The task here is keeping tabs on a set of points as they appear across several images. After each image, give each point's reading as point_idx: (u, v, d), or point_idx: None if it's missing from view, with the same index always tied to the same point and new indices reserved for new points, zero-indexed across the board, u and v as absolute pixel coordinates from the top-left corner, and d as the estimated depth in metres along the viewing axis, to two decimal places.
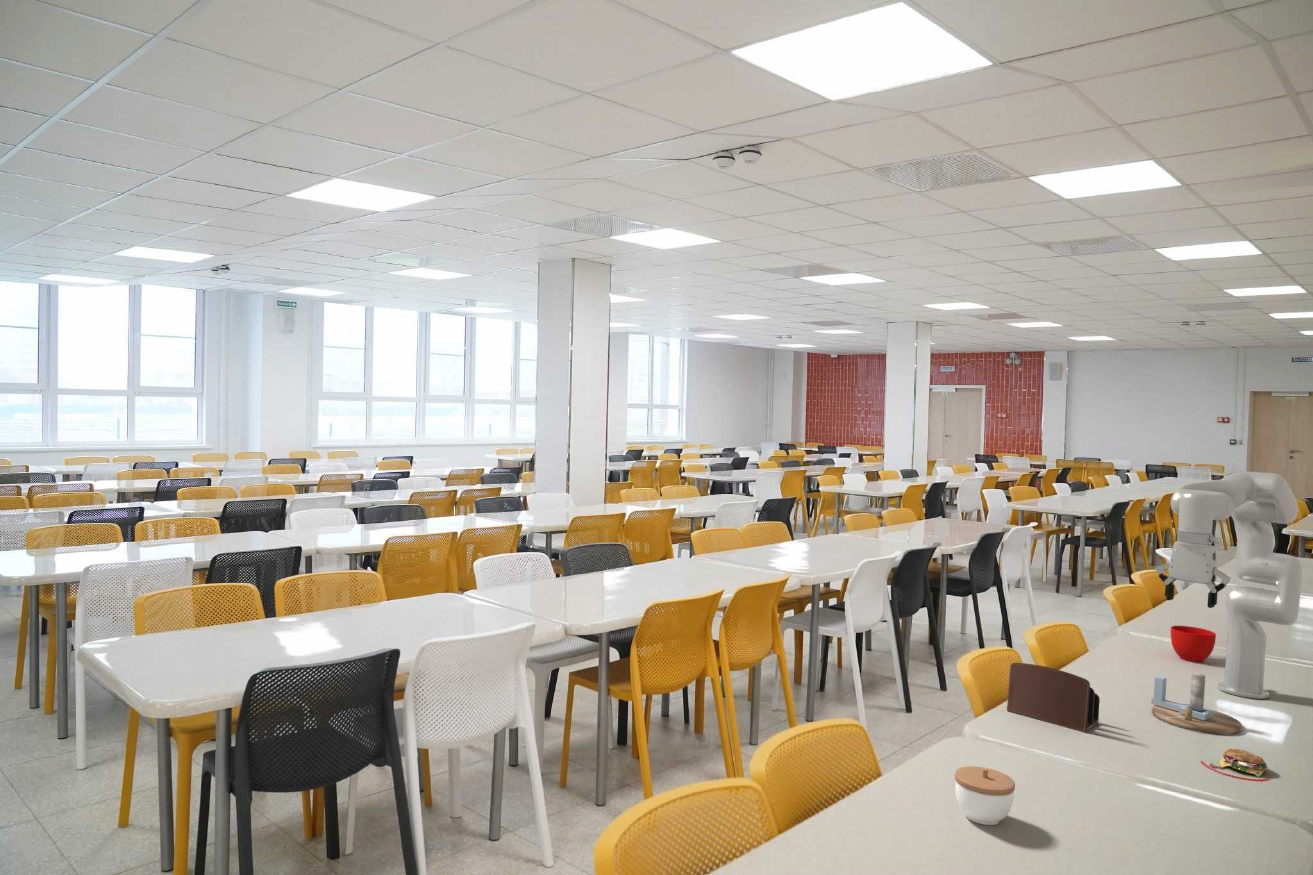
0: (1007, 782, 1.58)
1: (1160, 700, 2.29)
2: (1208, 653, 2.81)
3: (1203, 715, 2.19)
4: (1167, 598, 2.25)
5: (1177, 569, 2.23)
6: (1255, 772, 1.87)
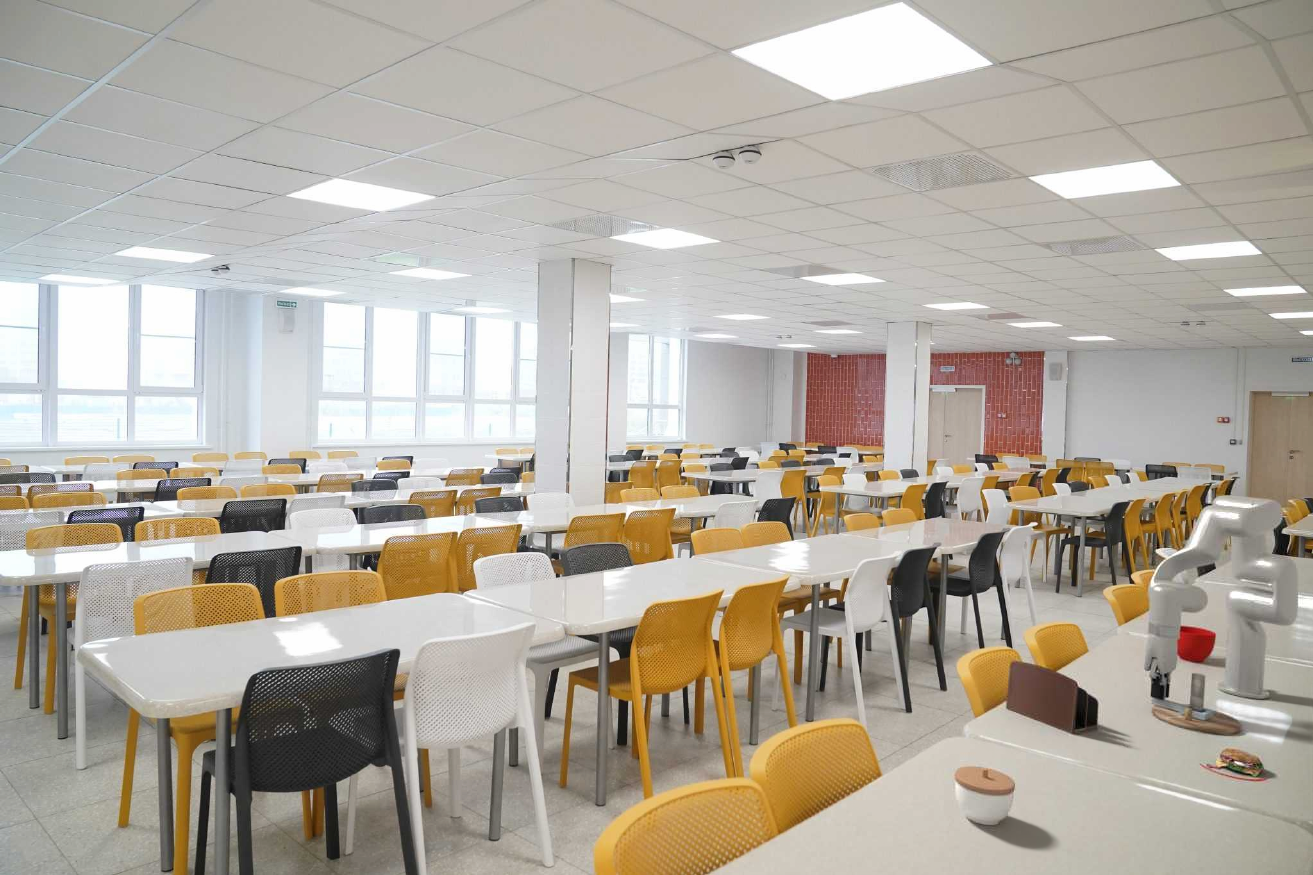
0: (1007, 782, 1.58)
1: (1160, 700, 2.29)
2: (1208, 653, 2.81)
3: (1203, 715, 2.19)
4: (1163, 698, 2.28)
5: (1166, 664, 2.26)
6: (1251, 772, 1.87)
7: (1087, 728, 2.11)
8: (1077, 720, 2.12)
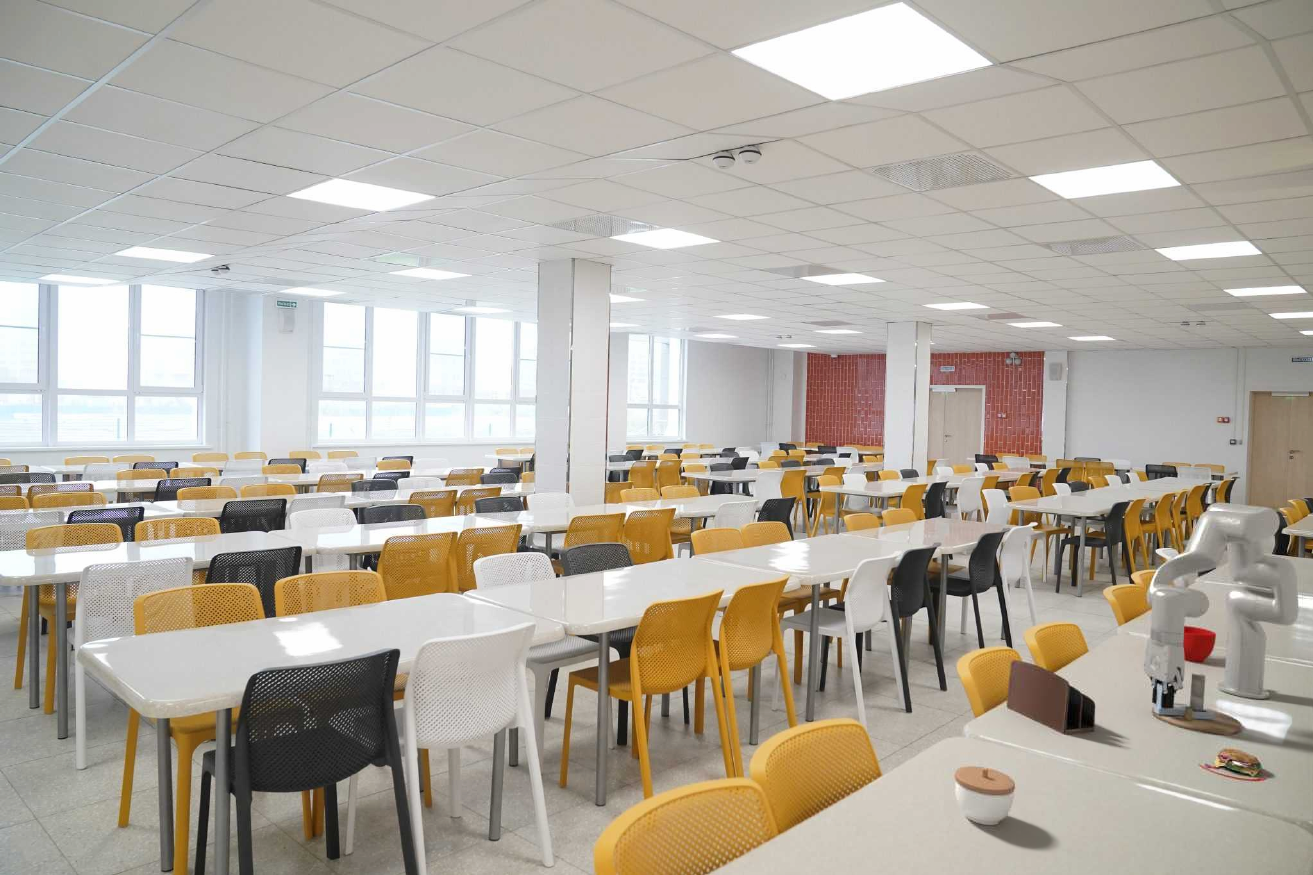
0: (1007, 782, 1.58)
1: (1167, 708, 2.22)
2: (1208, 653, 2.81)
3: (1213, 714, 2.20)
4: None
5: None
6: (1250, 772, 1.87)
7: (1081, 729, 2.10)
8: (1072, 721, 2.11)
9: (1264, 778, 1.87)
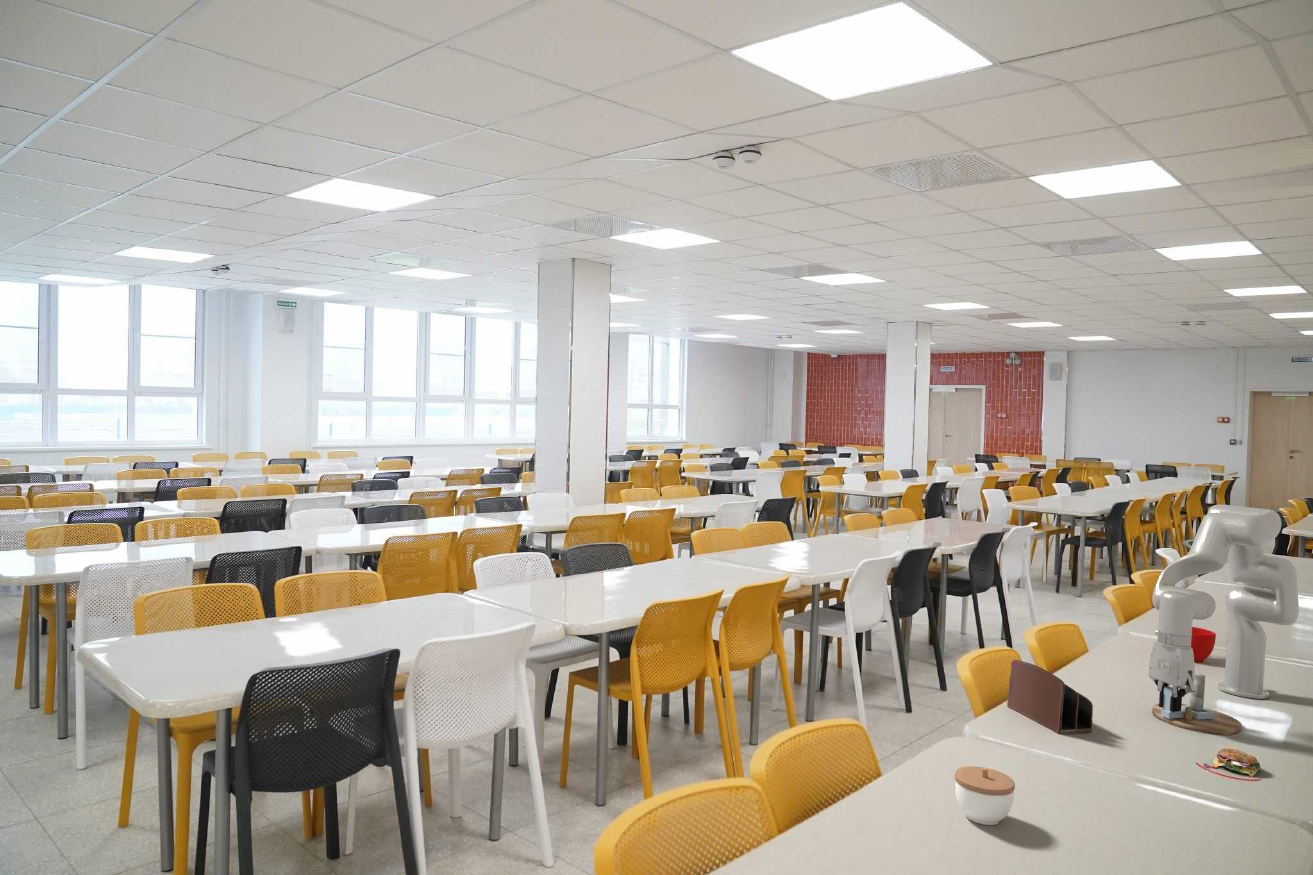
0: (1007, 782, 1.58)
1: (1175, 712, 2.20)
2: (1208, 653, 2.81)
3: (1214, 713, 2.21)
4: None
5: None
6: (1248, 772, 1.87)
7: (1078, 730, 2.09)
8: (1069, 721, 2.11)
9: None
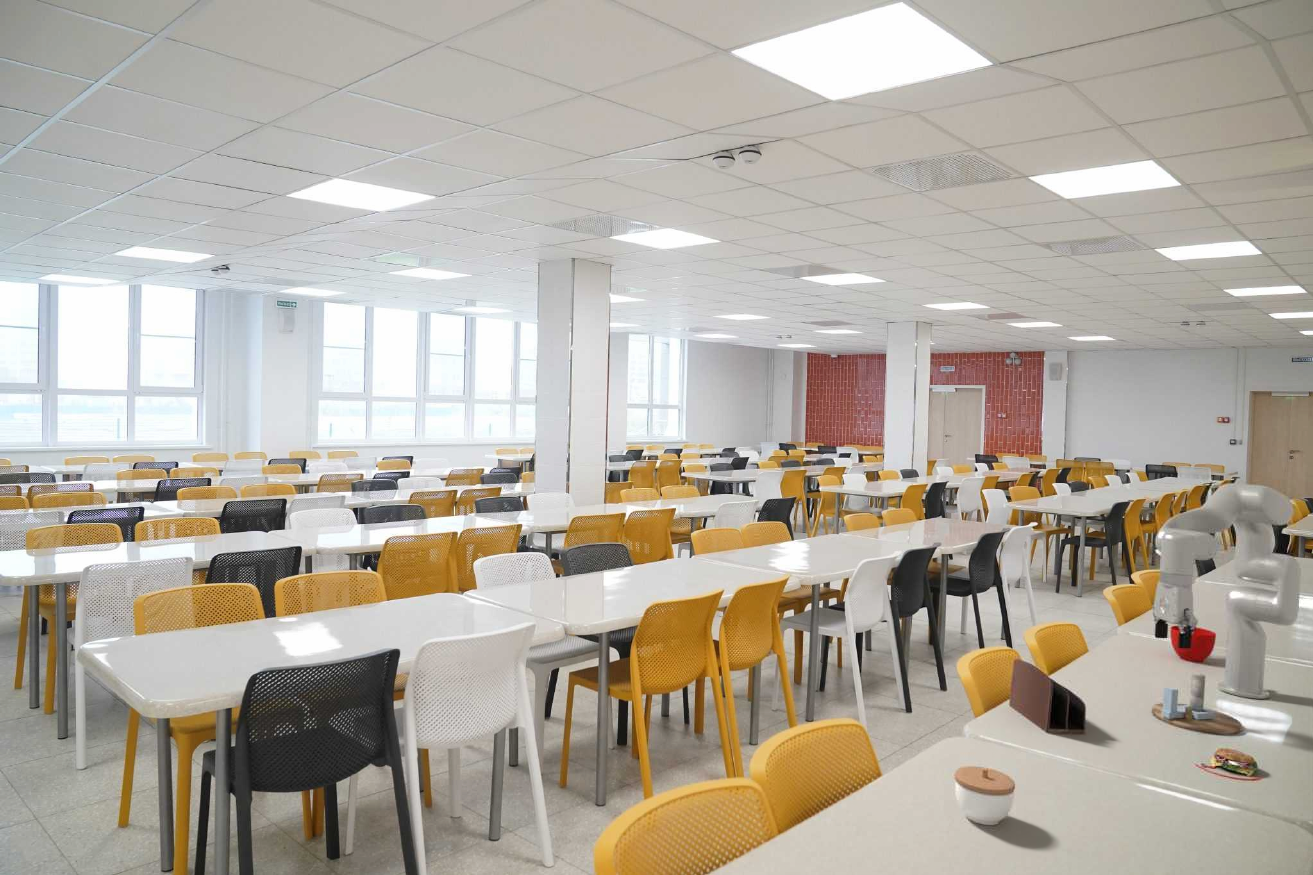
0: (1007, 782, 1.58)
1: (1175, 712, 2.20)
2: (1208, 653, 2.81)
3: (1214, 713, 2.21)
4: None
5: None
6: (1246, 771, 1.88)
7: (1069, 730, 2.09)
8: (1060, 721, 2.11)
9: (1260, 778, 1.87)
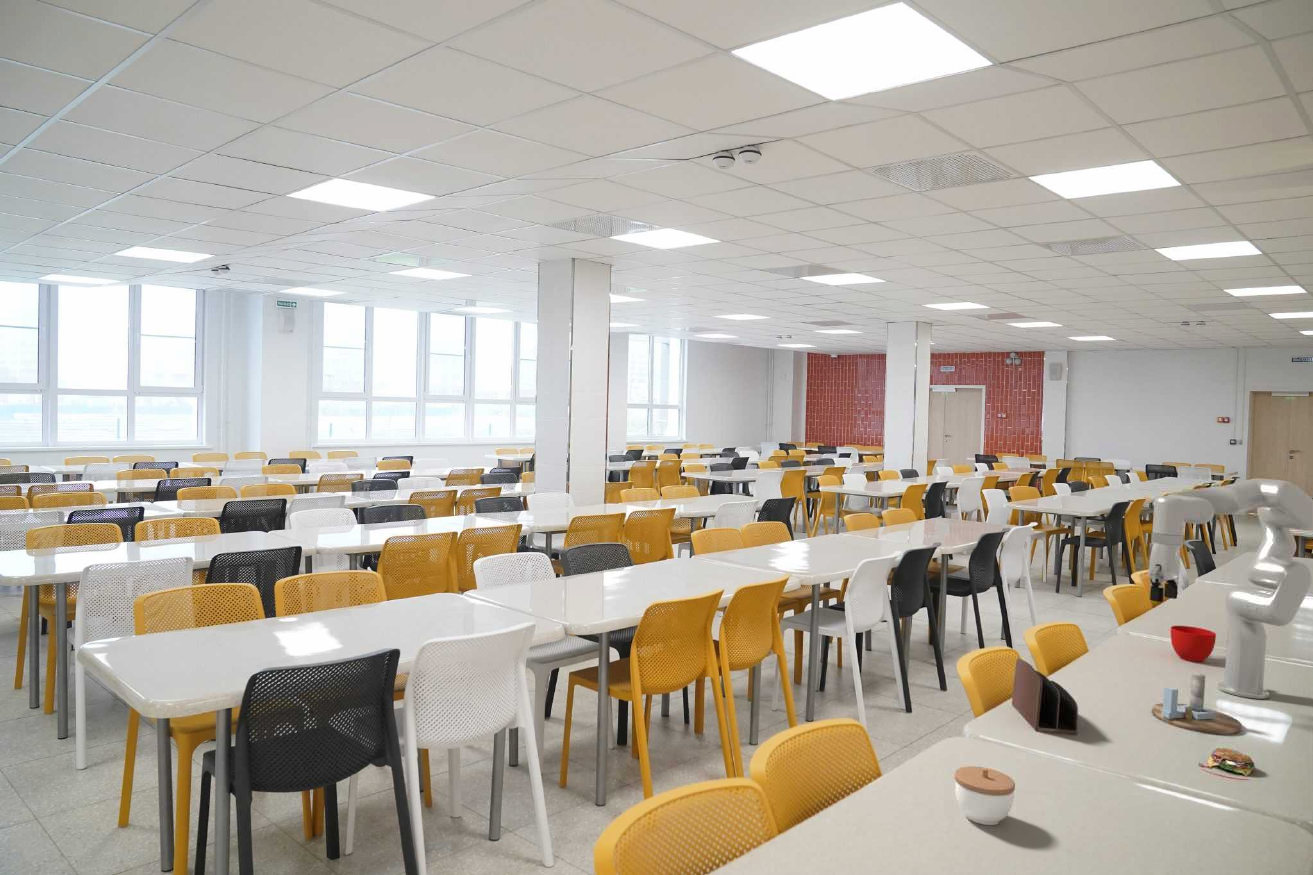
0: (1007, 782, 1.58)
1: (1175, 712, 2.20)
2: (1208, 653, 2.81)
3: (1214, 713, 2.21)
4: (1162, 600, 2.37)
5: (1170, 571, 2.37)
6: (1243, 771, 1.88)
7: (1059, 730, 2.08)
8: (1052, 721, 2.11)
9: None
